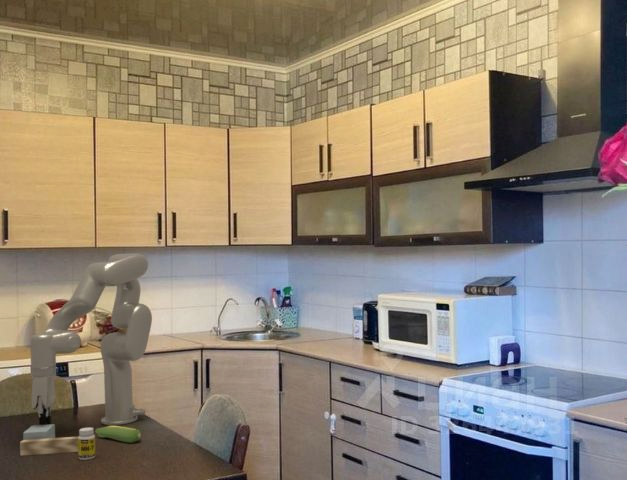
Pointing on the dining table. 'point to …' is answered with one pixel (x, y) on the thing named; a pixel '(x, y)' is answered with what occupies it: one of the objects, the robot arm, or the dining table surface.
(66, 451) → the board
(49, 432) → the block
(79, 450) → the supplement bottle
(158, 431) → the dining table surface
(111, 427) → the edible corn
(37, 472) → the dining table surface
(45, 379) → the robot arm
